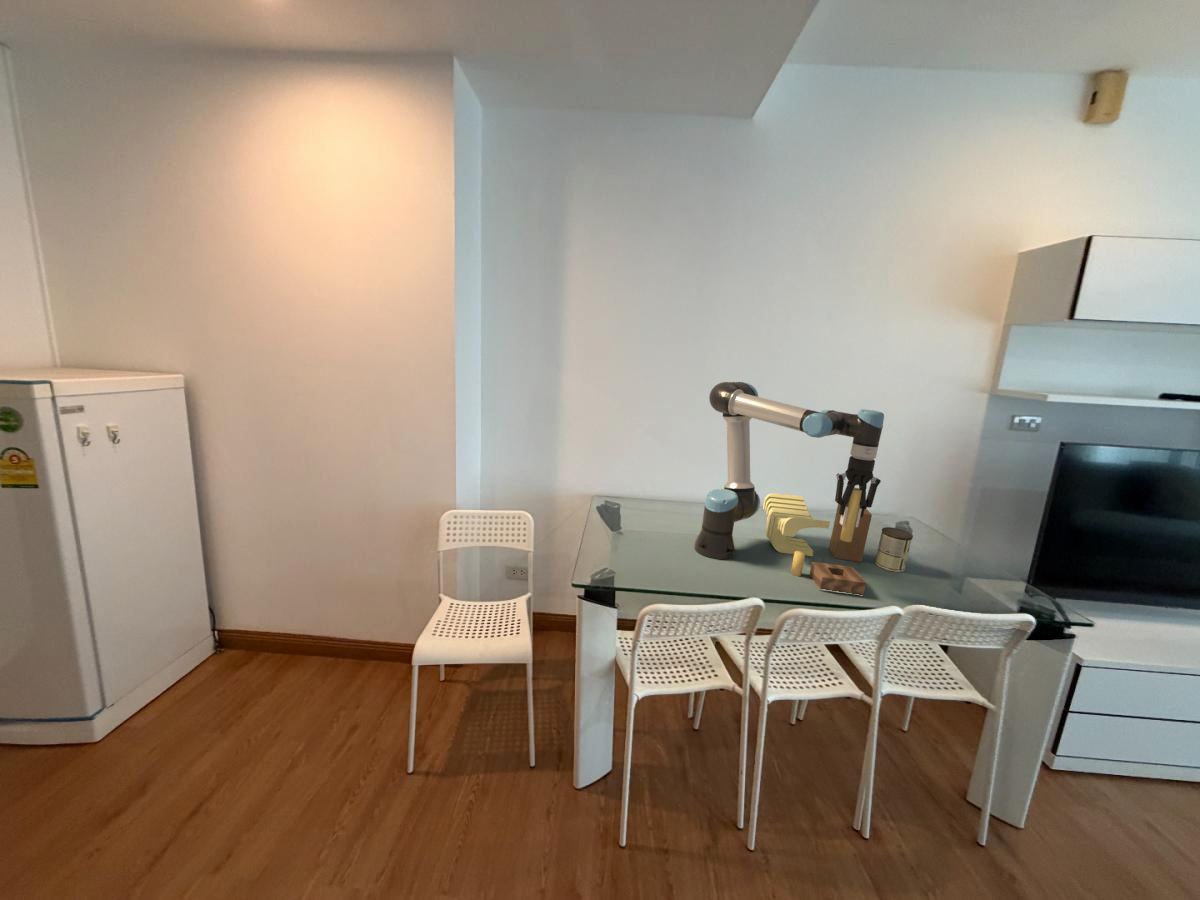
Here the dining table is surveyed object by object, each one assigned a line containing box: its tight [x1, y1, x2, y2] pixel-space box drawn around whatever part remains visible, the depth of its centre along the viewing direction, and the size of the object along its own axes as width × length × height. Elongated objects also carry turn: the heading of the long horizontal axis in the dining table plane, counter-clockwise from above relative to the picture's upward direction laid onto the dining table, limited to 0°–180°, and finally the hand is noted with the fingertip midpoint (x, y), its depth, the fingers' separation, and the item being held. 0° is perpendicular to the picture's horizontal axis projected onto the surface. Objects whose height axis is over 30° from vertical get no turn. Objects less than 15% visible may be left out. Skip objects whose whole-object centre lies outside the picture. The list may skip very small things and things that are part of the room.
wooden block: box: [828, 503, 873, 563], centre depth 197 cm, size 10×10×20 cm
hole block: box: [809, 561, 867, 596], centre depth 172 cm, size 14×12×5 cm
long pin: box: [840, 487, 862, 542], centre depth 167 cm, size 4×4×18 cm
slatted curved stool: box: [762, 492, 831, 557], centre depth 201 cm, size 30×16×18 cm, turn 176°
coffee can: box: [874, 526, 914, 573], centre depth 191 cm, size 10×10×14 cm
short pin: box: [790, 551, 806, 577], centre depth 178 cm, size 4×4×8 cm
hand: (848, 524), depth 167 cm, fingers closed on long pin, 3 cm apart
